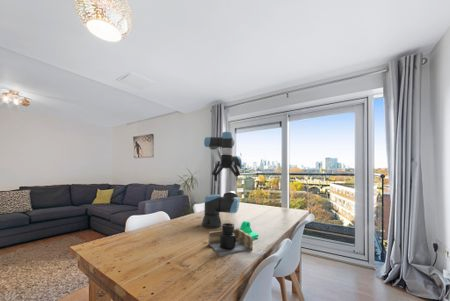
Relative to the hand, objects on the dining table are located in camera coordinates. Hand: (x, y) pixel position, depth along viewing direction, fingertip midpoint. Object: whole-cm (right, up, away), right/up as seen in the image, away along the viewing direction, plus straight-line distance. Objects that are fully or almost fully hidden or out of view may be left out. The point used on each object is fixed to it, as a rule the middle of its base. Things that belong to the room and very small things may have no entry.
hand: (225, 185), depth 135 cm
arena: (+2, -31, -21) cm, 38 cm away
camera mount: (+14, -33, -6) cm, 37 cm away
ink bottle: (+1, -31, -23) cm, 38 cm away
